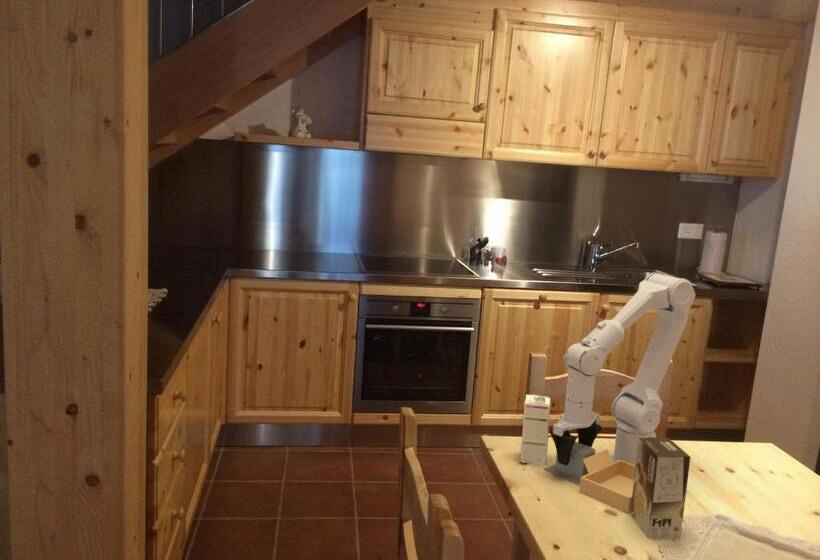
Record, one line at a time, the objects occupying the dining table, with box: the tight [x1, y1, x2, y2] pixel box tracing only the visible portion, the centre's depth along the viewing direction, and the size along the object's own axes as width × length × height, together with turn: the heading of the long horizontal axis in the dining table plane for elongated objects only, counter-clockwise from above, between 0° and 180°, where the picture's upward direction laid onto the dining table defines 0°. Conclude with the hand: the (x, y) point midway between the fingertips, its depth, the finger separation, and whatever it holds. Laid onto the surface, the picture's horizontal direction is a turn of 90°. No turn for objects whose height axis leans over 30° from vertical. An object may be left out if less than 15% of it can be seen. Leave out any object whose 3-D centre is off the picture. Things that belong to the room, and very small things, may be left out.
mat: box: [542, 464, 580, 486], centre depth 149 cm, size 9×9×1 cm
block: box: [554, 441, 596, 479], centre depth 148 cm, size 4×7×6 cm, turn 42°
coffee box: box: [629, 436, 691, 540], centre depth 126 cm, size 9×6×16 cm
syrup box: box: [520, 394, 551, 466], centre depth 154 cm, size 6×6×14 cm
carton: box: [578, 449, 635, 514], centre depth 140 cm, size 15×15×6 cm
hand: (573, 459), depth 148 cm, fingers open, 7 cm apart
